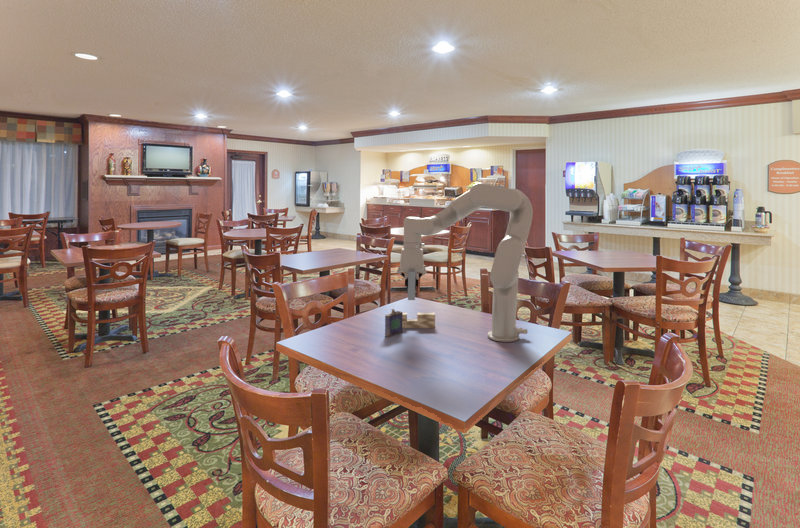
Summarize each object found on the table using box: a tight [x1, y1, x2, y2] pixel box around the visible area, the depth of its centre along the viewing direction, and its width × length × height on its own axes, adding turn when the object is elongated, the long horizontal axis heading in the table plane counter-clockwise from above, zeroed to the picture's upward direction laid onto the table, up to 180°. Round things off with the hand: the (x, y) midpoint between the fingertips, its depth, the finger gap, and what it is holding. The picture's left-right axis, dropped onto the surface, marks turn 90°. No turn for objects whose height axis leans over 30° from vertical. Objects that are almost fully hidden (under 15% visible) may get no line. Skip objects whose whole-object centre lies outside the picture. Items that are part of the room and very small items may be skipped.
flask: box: [384, 308, 403, 338], centre depth 185 cm, size 9×3×11 cm, turn 134°
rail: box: [388, 312, 436, 329], centre depth 195 cm, size 20×3×6 cm, turn 90°
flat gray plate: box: [407, 271, 416, 301], centre depth 193 cm, size 10×3×12 cm, turn 0°
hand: (411, 287), depth 193 cm, fingers closed on flat gray plate, 3 cm apart
